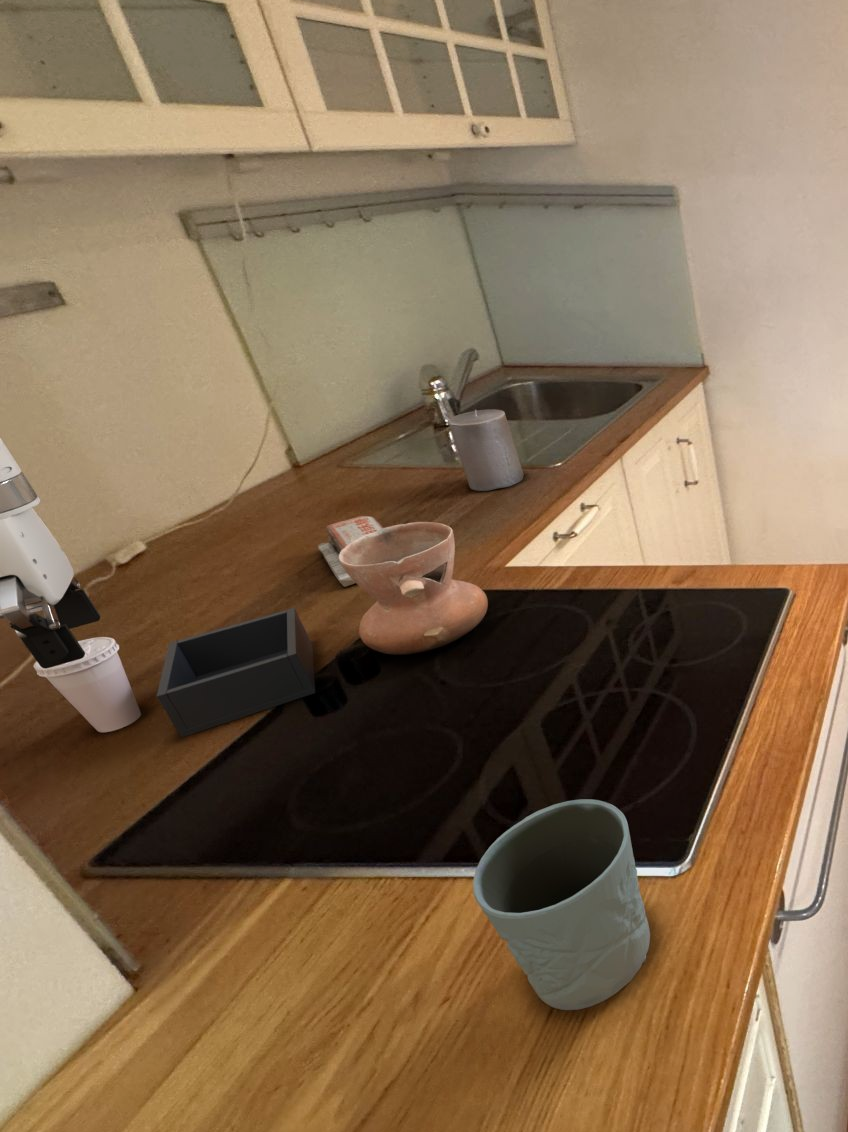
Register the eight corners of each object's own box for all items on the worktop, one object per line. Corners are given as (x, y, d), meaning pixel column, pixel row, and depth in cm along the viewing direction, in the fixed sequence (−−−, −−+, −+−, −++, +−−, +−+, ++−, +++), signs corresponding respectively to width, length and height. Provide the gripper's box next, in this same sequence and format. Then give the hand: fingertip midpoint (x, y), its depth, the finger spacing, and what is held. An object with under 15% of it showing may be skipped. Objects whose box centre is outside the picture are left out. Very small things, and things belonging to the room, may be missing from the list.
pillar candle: (496, 471, 159) (474, 401, 152) (535, 475, 156) (514, 403, 150) (457, 489, 150) (432, 416, 144) (498, 493, 148) (474, 419, 141)
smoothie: (136, 699, 92) (74, 600, 86) (169, 709, 90) (108, 608, 84) (66, 733, 87) (-5, 630, 81) (100, 745, 85) (29, 640, 79)
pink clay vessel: (504, 642, 101) (471, 546, 95) (372, 686, 93) (326, 585, 87) (482, 589, 114) (451, 502, 108) (365, 624, 106) (324, 532, 100)
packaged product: (308, 527, 125) (380, 507, 131) (320, 553, 127) (390, 533, 133) (330, 561, 113) (408, 538, 120) (343, 589, 115) (418, 565, 122)
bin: (181, 737, 86) (156, 696, 83) (191, 681, 95) (168, 642, 93) (315, 693, 92) (296, 653, 90) (312, 644, 102) (294, 607, 100)
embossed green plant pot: (670, 895, 65) (640, 790, 60) (646, 1012, 56) (608, 901, 51) (545, 914, 64) (503, 808, 59) (499, 1037, 55) (445, 925, 50)
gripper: (-52, 487, 81) (42, 623, 88) (-112, 541, 68) (3, 694, 76) (50, 468, 85) (131, 600, 92) (10, 515, 72) (108, 663, 80)
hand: (74, 642), depth 84 cm, fingers open, 9 cm apart
